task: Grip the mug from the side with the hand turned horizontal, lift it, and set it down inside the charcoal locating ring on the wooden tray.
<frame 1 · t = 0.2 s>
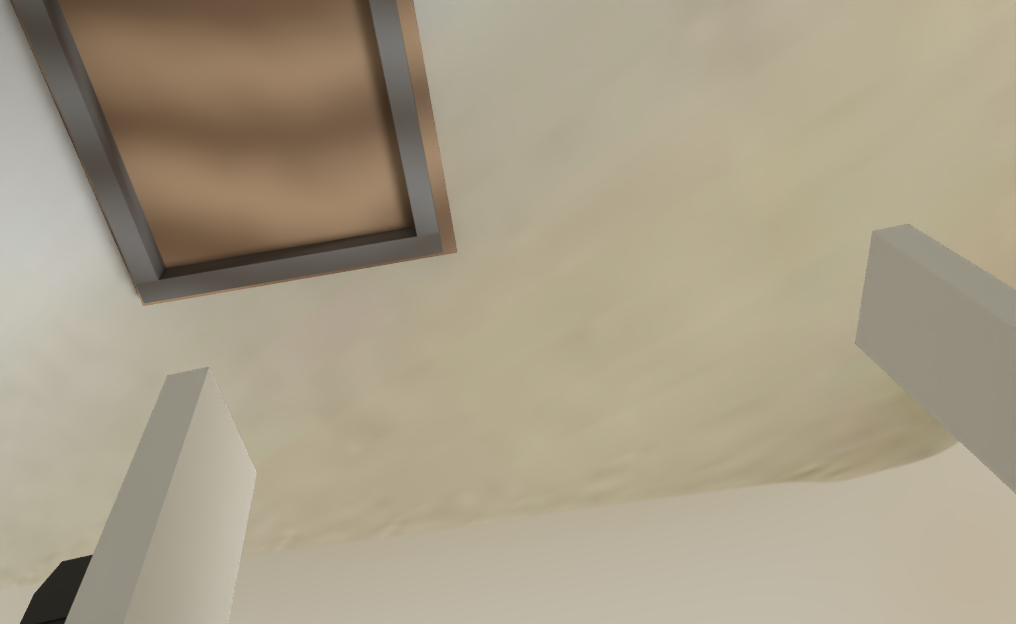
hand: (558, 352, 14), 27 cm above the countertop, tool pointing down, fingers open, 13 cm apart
wooden tray: (259, 117, 37), on the countertop
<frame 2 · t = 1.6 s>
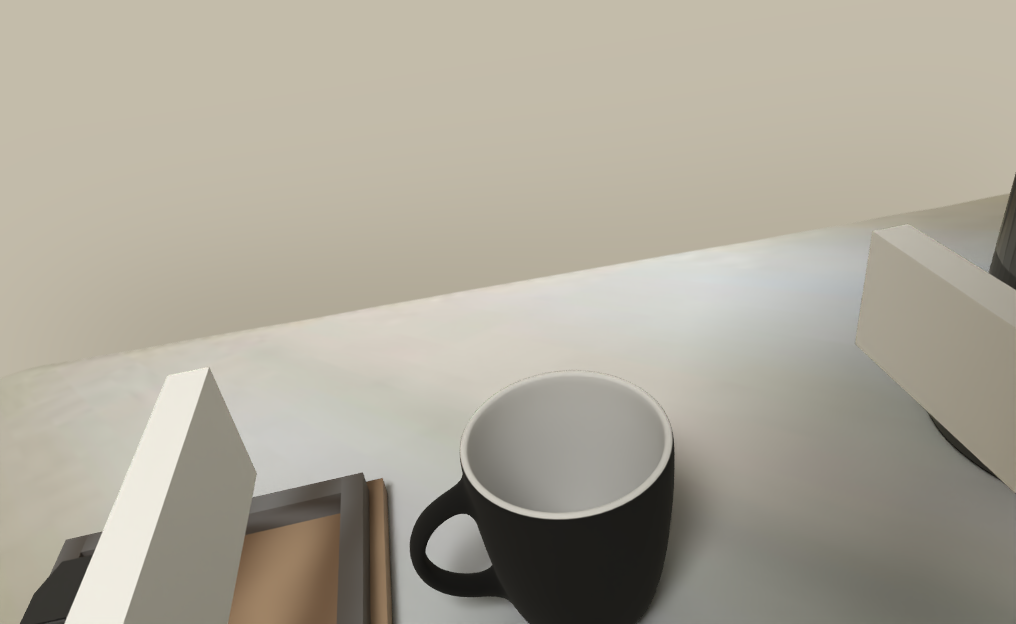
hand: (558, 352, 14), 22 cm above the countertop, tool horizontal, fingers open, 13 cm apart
mug: (554, 598, 35), on the countertop
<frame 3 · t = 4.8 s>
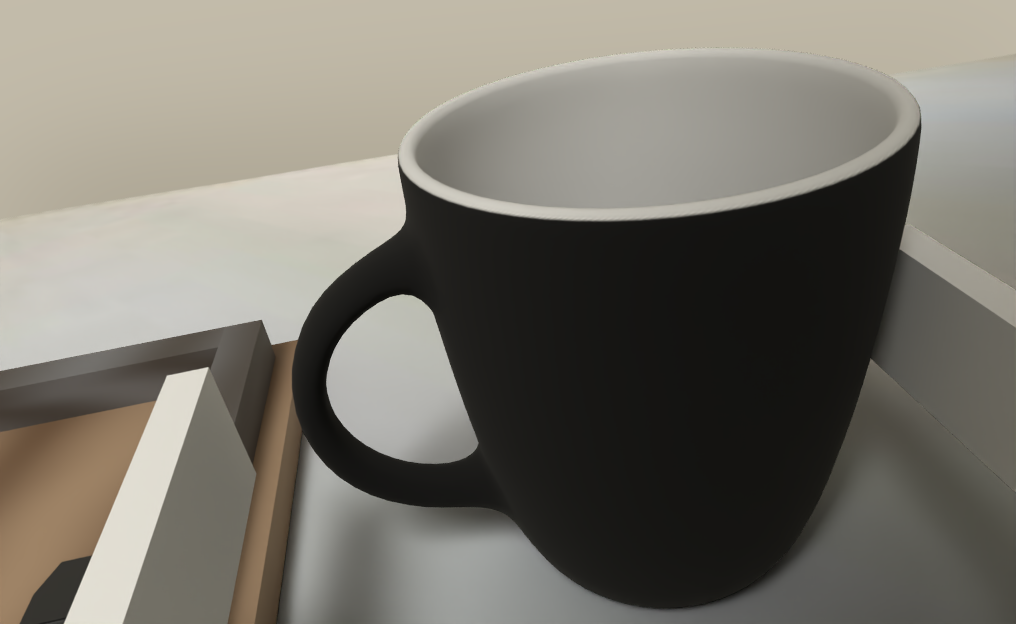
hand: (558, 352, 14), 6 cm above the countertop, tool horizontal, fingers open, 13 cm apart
mug: (598, 523, 18), on the countertop, touching gripper
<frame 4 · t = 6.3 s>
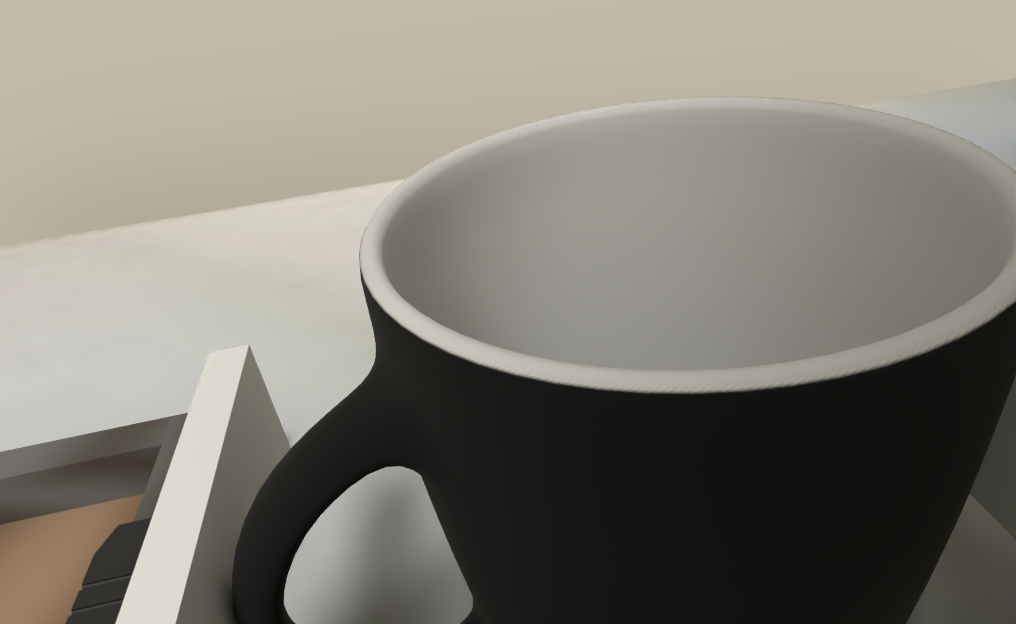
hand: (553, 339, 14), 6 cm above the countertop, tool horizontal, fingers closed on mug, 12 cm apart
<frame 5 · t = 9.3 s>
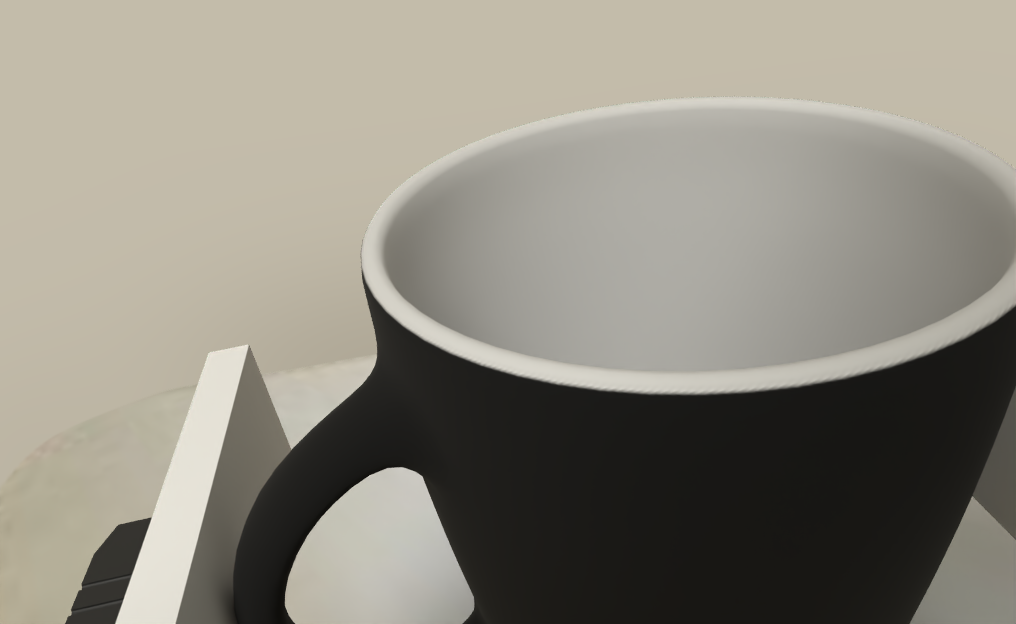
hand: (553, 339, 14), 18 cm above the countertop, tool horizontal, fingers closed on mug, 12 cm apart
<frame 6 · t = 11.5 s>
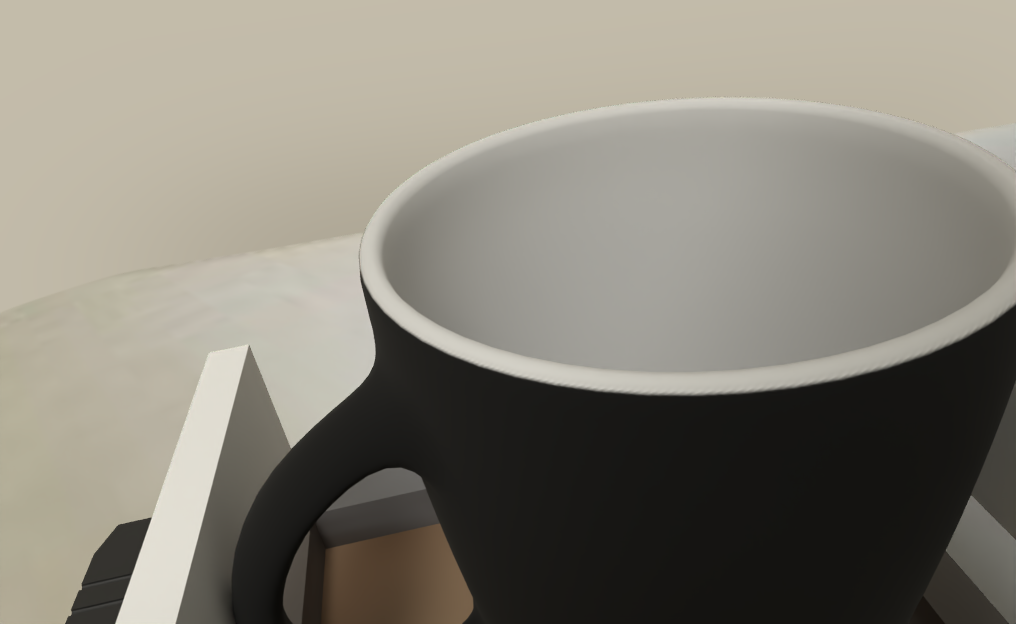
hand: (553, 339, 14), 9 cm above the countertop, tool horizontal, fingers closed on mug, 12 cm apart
when the fingers open (9 cm above the countertop, at t = 12.2 s): mug drops 2 cm, resting on wooden tray.
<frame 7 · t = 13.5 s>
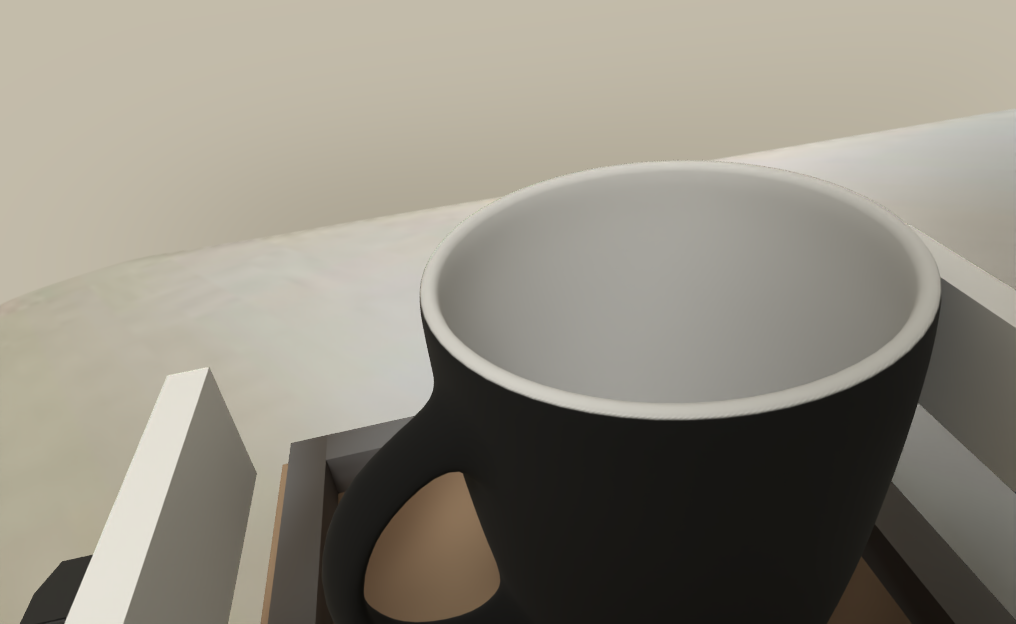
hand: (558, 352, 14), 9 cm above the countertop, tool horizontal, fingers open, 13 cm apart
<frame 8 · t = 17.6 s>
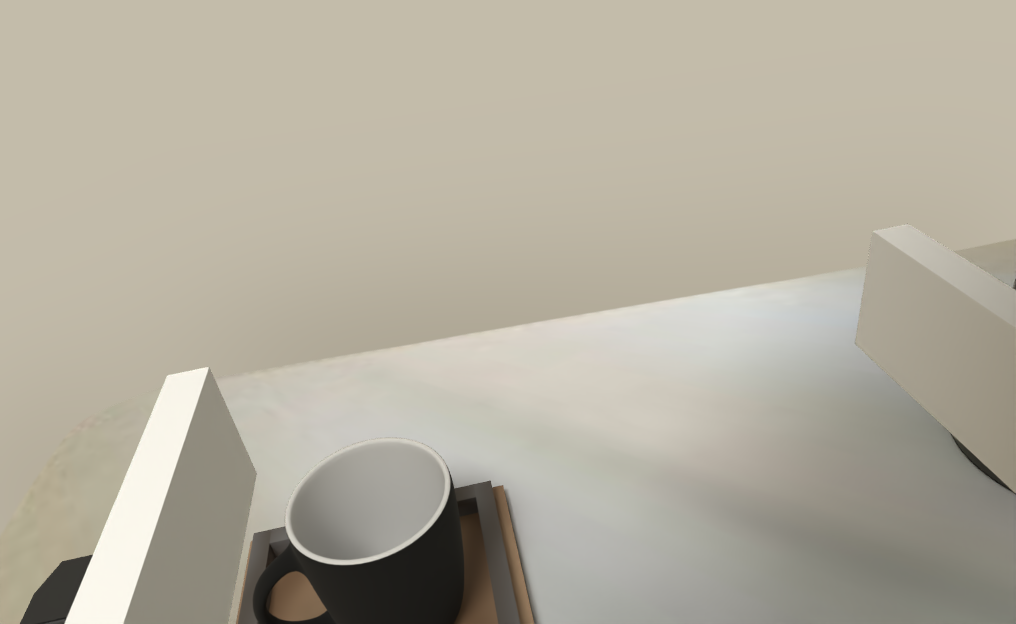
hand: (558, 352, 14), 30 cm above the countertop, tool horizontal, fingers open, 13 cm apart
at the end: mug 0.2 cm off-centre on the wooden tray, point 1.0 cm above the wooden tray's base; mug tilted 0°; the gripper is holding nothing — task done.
